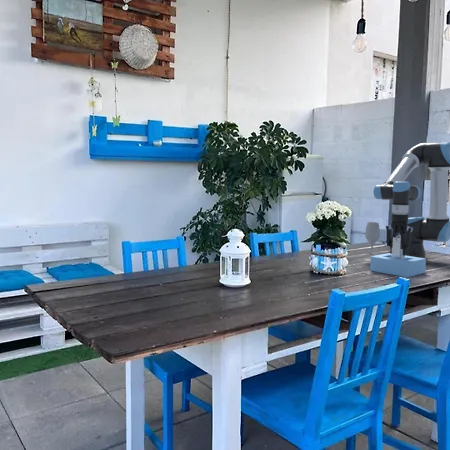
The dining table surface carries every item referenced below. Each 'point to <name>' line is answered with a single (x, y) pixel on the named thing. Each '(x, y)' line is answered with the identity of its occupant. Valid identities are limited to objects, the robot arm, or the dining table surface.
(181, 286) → the dining table surface
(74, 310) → the dining table surface
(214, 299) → the dining table surface
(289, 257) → the dining table surface
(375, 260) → the well block
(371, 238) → the wineglass
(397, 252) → the light grey tall block
